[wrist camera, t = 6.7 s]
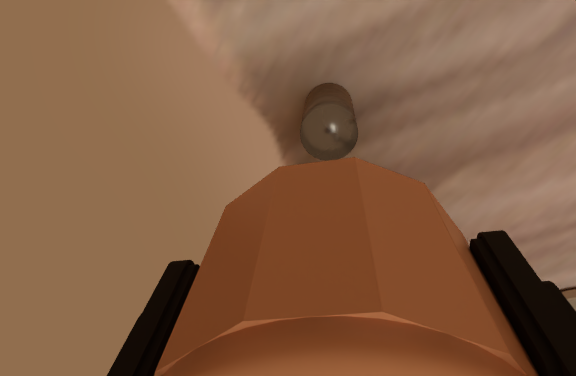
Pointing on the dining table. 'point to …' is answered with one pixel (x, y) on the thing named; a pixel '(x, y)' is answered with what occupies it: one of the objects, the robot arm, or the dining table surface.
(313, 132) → the steel stud
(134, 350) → the robot arm
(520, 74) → the dining table surface
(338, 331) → the orange short cylinder
